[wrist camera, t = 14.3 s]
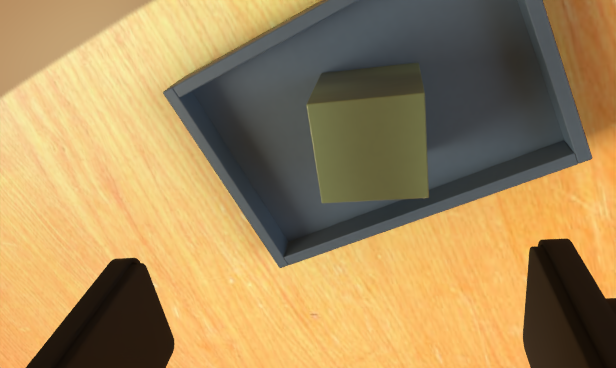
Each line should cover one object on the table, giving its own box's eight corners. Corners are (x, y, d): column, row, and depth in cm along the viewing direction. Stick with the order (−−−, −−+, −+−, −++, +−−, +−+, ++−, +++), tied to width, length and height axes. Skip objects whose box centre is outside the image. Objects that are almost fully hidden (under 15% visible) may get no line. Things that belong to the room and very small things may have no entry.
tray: (286, 247, 28) (279, 268, 26) (178, 80, 24) (162, 92, 22) (577, 141, 23) (593, 159, 21) (499, -100, 19) (510, -102, 17)
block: (332, 159, 24) (321, 203, 20) (320, 72, 22) (305, 104, 18) (422, 152, 23) (429, 198, 20) (418, 62, 21) (424, 92, 18)
